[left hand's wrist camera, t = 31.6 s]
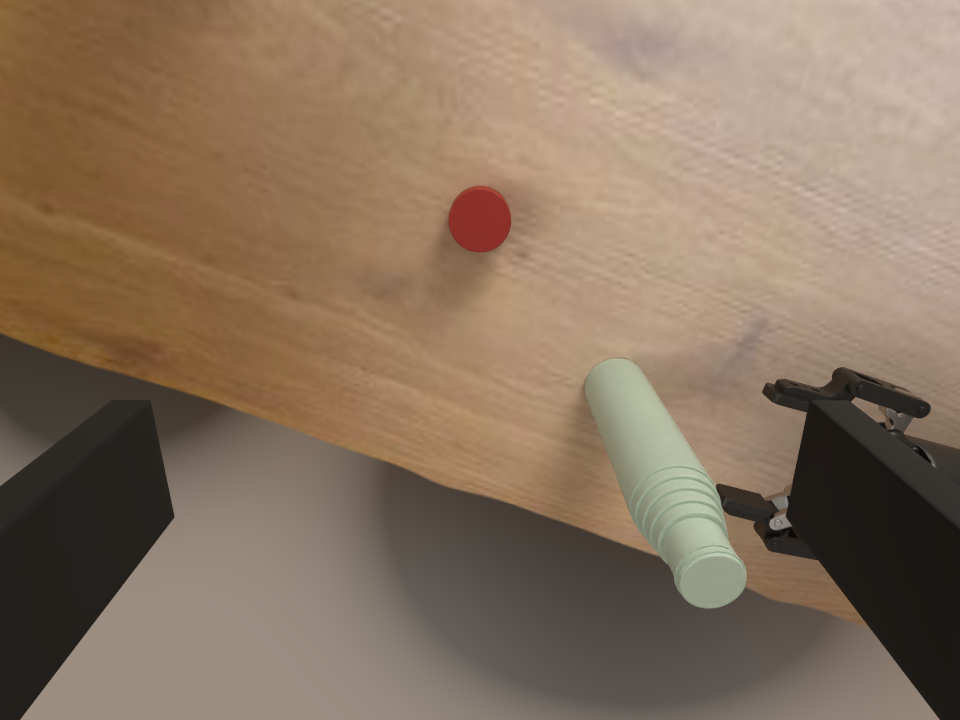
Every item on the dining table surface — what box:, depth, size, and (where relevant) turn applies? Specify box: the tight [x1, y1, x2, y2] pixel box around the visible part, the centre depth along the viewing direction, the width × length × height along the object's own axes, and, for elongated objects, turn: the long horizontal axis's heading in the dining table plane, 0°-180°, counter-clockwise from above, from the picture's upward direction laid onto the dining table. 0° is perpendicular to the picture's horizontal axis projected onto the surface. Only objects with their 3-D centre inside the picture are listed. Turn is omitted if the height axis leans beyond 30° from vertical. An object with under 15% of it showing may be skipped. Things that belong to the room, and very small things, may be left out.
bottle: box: [584, 358, 747, 608], centre depth 40 cm, size 5×5×23 cm
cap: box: [449, 186, 511, 252], centre depth 45 cm, size 4×4×2 cm
